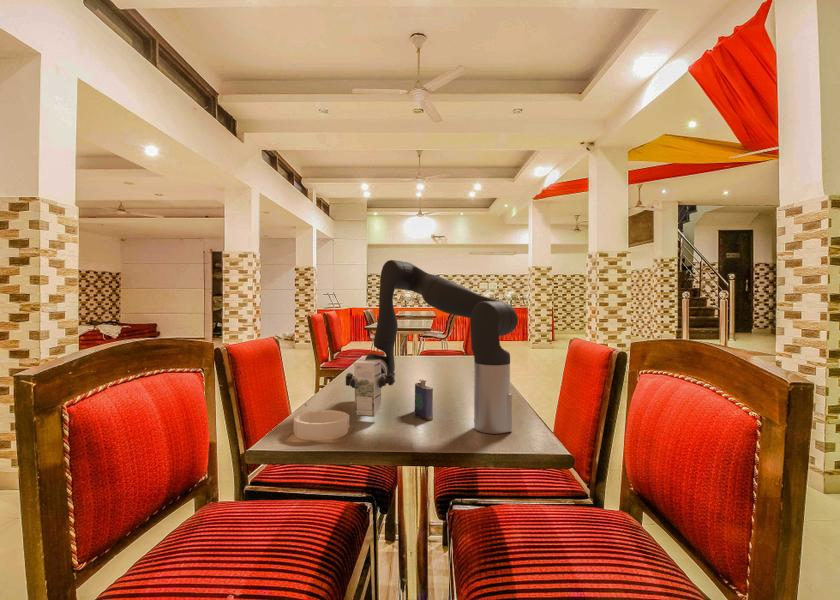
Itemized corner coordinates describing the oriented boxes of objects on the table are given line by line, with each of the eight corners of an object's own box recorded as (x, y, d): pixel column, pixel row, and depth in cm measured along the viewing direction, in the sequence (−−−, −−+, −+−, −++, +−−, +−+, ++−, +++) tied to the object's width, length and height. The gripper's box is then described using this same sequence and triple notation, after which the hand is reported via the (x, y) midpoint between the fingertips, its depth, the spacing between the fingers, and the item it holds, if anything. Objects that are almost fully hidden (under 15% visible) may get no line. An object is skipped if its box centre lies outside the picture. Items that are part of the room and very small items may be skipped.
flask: (434, 420, 125) (434, 381, 124) (425, 421, 123) (425, 382, 123) (420, 412, 133) (420, 376, 133) (411, 413, 132) (411, 377, 132)
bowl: (352, 425, 117) (352, 410, 117) (343, 441, 104) (343, 424, 104) (302, 425, 117) (302, 410, 117) (287, 441, 104) (287, 424, 104)
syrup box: (382, 412, 122) (381, 359, 122) (374, 417, 116) (373, 362, 116) (362, 410, 124) (362, 358, 124) (354, 416, 118) (353, 361, 118)
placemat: (354, 427, 117) (354, 425, 117) (345, 444, 103) (345, 442, 103) (301, 427, 117) (301, 424, 117) (284, 444, 103) (284, 441, 103)
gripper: (349, 361, 134) (339, 370, 118) (397, 360, 134) (393, 369, 118) (350, 386, 134) (339, 398, 118) (397, 385, 134) (394, 398, 118)
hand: (366, 384), depth 118 cm, fingers closed on syrup box, 6 cm apart
